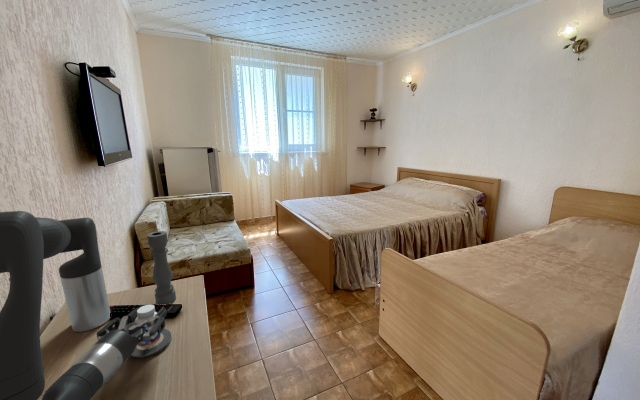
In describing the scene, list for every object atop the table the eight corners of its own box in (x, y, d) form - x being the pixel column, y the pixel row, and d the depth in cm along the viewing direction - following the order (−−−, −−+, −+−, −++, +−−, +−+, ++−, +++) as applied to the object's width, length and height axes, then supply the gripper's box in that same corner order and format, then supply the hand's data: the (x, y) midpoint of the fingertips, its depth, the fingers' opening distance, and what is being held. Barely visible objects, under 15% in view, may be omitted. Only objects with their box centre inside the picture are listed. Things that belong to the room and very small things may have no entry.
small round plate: (119, 353, 69) (118, 349, 68) (153, 328, 78) (153, 325, 78) (146, 363, 66) (146, 359, 65) (179, 336, 75) (179, 332, 74)
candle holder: (161, 296, 95) (151, 231, 89) (179, 295, 95) (170, 230, 90) (152, 306, 89) (141, 237, 83) (171, 305, 89) (162, 236, 84)
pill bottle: (149, 349, 68) (145, 316, 66) (132, 346, 69) (127, 313, 67) (165, 335, 73) (162, 304, 72) (149, 332, 74) (145, 301, 73)
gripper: (135, 343, 55) (176, 298, 71) (66, 344, 55) (123, 298, 71) (140, 373, 57) (179, 322, 73) (73, 374, 57) (127, 322, 73)
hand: (151, 310), depth 72 cm, fingers open, 6 cm apart
